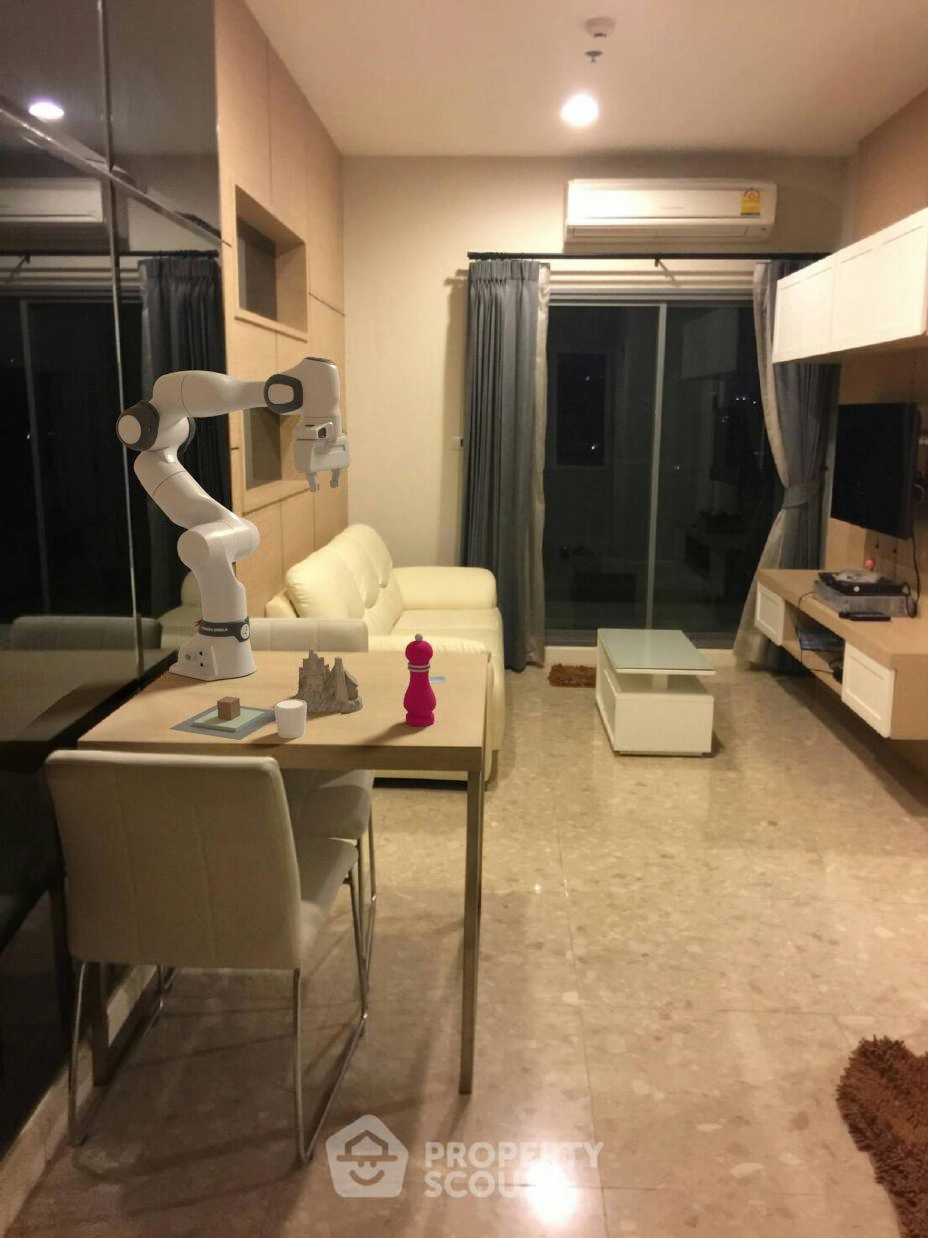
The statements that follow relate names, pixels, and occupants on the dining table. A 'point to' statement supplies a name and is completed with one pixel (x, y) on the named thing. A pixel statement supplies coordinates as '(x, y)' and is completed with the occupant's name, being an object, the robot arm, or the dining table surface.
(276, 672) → the dining table surface
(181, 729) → the mat
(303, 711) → the white cup
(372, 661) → the dining table surface
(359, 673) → the dining table surface
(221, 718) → the lid
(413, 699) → the pepper mill
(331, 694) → the ceramic cottage
